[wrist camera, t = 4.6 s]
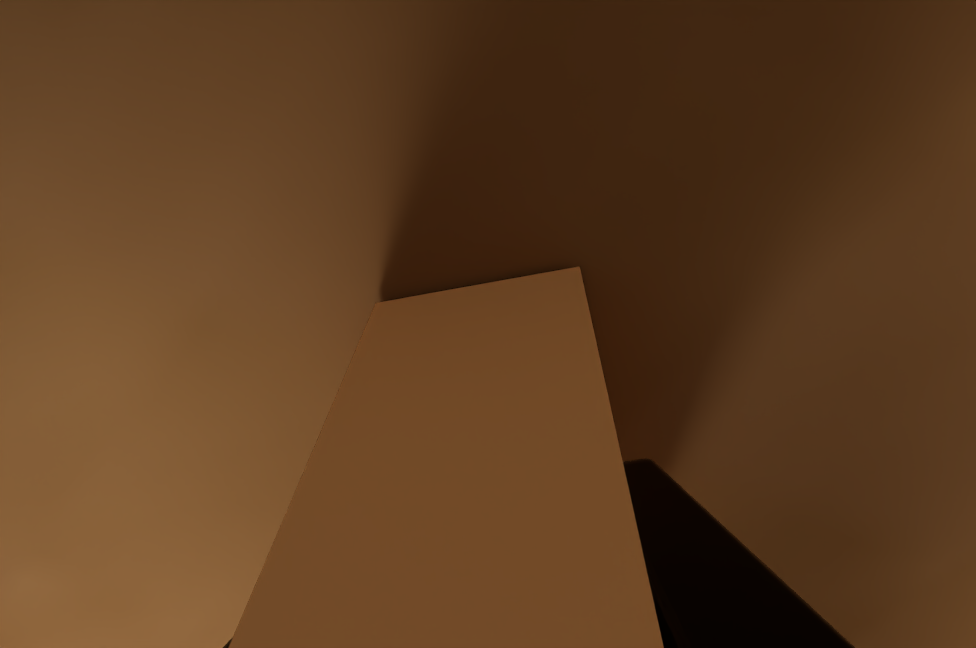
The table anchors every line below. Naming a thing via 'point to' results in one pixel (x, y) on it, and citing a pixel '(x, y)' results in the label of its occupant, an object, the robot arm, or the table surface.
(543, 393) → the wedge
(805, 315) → the table surface
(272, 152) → the table surface
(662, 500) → the robot arm
